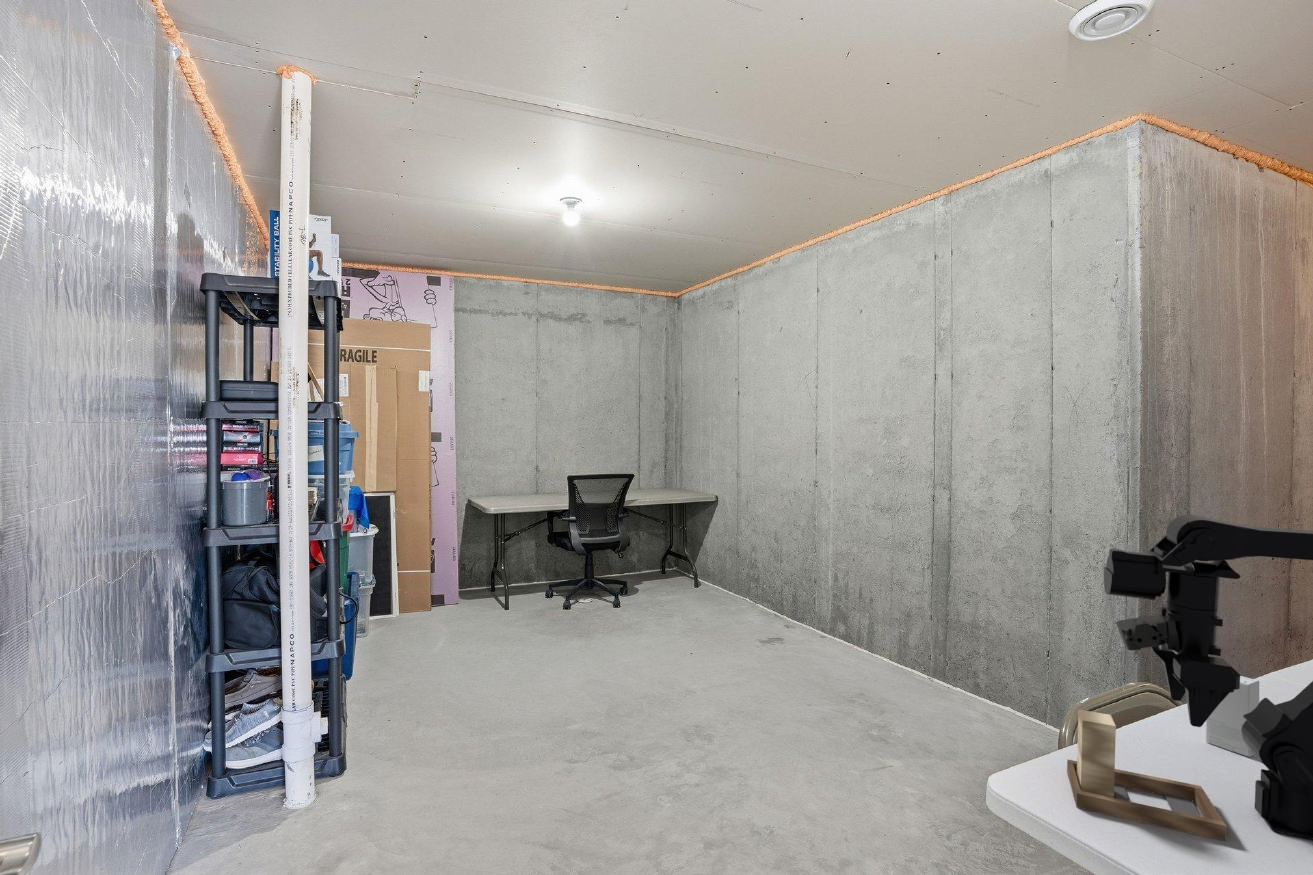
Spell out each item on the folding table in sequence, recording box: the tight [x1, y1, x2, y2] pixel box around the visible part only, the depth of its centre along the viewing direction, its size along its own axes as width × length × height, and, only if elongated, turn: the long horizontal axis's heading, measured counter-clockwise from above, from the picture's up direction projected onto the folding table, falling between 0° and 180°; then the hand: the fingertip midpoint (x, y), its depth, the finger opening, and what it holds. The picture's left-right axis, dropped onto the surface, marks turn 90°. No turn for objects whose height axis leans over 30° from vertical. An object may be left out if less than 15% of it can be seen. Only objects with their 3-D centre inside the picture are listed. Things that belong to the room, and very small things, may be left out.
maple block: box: [1076, 709, 1117, 798], centre depth 96 cm, size 4×4×11 cm
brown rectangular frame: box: [1066, 759, 1227, 842], centre depth 94 cm, size 16×10×2 cm, turn 64°
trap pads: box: [1114, 784, 1202, 817], centre depth 93 cm, size 10×8×1 cm
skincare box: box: [1205, 675, 1260, 758], centre depth 111 cm, size 6×4×12 cm
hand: (1185, 712), depth 94 cm, fingers open, 9 cm apart
